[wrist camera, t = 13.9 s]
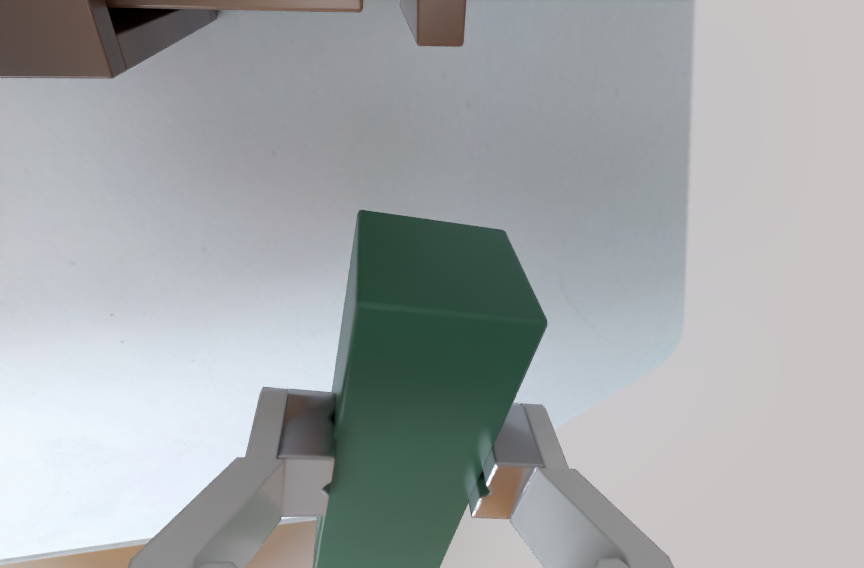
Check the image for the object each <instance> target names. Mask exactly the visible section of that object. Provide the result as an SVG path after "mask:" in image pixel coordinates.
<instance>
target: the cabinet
mask: <svg viewBox="0 0 864 568" xmlns="http://www.w3.org/2000/svg"><path fill="white" fill-rule="evenodd" d="M216 19H217V16H216V11H215V10H209V9H158V8H108V7H107V6H106V3H105V0H0V78H114V77H116V76H118V75H119V74H121V73H123V72H125V71H126V70H128V69H130V68H132V67H133V66H135V65H137V64H139V63H141V62H142V61H144V60H146V59H148V58H149V57H151V56H153V55H155V54H156V53H158V52H160V51H162V50H163V49H165V48H167V47H169V46H171V45H172V44H174V43H176V42H178V41H179V40H181V39H183V38H185V37H186V36H188V35H190V34H192V33H193V32H195V31H197V30H199V29H201V28H202V27H204V26H206V25H208V24H209V23H211V22H213V21H215V20H216Z"/></svg>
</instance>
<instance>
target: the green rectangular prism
mask: <svg viewBox="0 0 864 568" xmlns="http://www.w3.org/2000/svg"><path fill="white" fill-rule="evenodd" d="M546 327H547V319H546V317H545V315H544V313H543V311H542V309H541V306H540V304H539V302H538V300H537V298H536V296H535V294H534V292H533V290H532V287H531V285H530V283H529V281H528V279H527V277H526V275H525V273H524V270H523V268H522V266H521V264H520V262H519V260H518V258H517V256H516V253H515V251H514V249H513V247H512V245H511V243H510V241H509V239H508V237H507V234H506V232H505V231H503V230H500V229H492V228H485V227H478V226H471V225H464V224H457V223H450V222H443V221H436V220H429V219H422V218H415V217H408V216H401V215H394V214H387V213H380V212H373V211H366V210H360V211H359V212H358V214H357V220H356V227H355V234H354V241H353V248H352V255H351V262H350V269H349V276H348V283H347V290H346V297H345V303H344V310H343V317H342V324H341V331H340V338H339V345H338V352H337V359H336V366H335V373H334V380H333V387H332V392H333V393H336V411H335V417H334V425H335V427H334V437H335V439H336V449H335V461H334V468H333V474H332V481H331V482H330V489H329V499H328V505H327V510H326V516H317V522H316V535H315V547H314V559H313V568H440V565H441V563H442V561H443V559H444V556H445V554H446V552H447V550H448V547H449V545H450V543H451V541H452V538H453V536H454V534H455V532H456V529H457V527H458V525H459V523H460V520H461V518H462V516H463V514H464V511H465V509H466V507H467V505H468V502H469V501H468V499H469V497H470V494H471V492H472V490H473V487H474V485H475V483H476V481H477V480H478V479H479V478H480V475H481V473H482V471H483V469H482V467H483V465H484V462H485V460H486V458H487V456H488V453H489V451H490V449H491V447H492V446H494V444H495V442H496V439H497V437H498V435H499V433H500V430H501V428H502V426H503V424H504V421H505V419H506V417H507V415H508V412H509V410H510V408H511V406H512V403H513V401H514V399H515V397H516V394H517V392H518V390H519V388H520V386H521V383H522V381H523V379H524V377H525V374H526V372H527V370H528V368H529V365H530V363H531V361H532V359H533V356H534V354H535V352H536V350H537V347H538V345H539V343H540V341H541V338H542V336H543V334H544V332H545V329H546Z"/></svg>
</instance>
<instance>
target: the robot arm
mask: <svg viewBox="0 0 864 568" xmlns="http://www.w3.org/2000/svg"><path fill="white" fill-rule="evenodd" d="M335 411H336V393H333V392H321V391H310V390H298V389H283V388H271V387H263V388H262V390H261V392H260V395H259V400H258V404H257V408H256V413H255V417H254V421H253V426H252V430H251V434H250V439H249V443H248V447H247V451H246V456H245V457H237V458H236V459H235V460H234V461H233V462H232V463H231V464H230V465H229V466H228V467H226V468H225V469H224V470H223V471H222V472H221V473H220V474H219V475H218V476H217V477H216V478H215V479H214V480H213V481H212V482H211V483H210V484H209V485H208V486H207V487H206V488H205V489H204V490H203V491H201V492H200V493H199V494H198V495H197V496H196V497H195V498H194V499H193V500H192V501H191V502H190V503H189V504H188V505H187V506H186V507H185V508H184V509H183V510H182V511H181V512H180V513H179V514H178V515H176V516H175V517H174V518H173V519H172V520H171V521H170V522H169V523H168V524H167V525H166V526H165V527H164V528H163V529H162V530H161V531H160V532H159V533H158V534H157V535H156V536H155V537H154V538H153V539H152V540H150V541H149V542H148V543H147V544H146V545H145V546H144V547H143V548H142V549H141V550H140V551H139V552H138V553H137V554H136V555H135V556H134V557H133V558H132V559H131V560H130V563H129V566H128V568H246V567H247V565H248V564H249V563H250V561H251V560H252V558H253V557H254V556H255V554H256V553H257V551H258V550H259V549H260V548H261V546H262V545H263V544H264V542H265V541H266V539H267V538H268V537H269V535H270V534H271V533H272V531H273V530H274V529H275V527H276V526H277V525H278V523H279V522H280V520H281V517H301V516H326V510H327V505H328V499H329V489H330V482H331V481H332V474H333V468H334V461H335V449H336V439H335V437H334V427H335V425H334V417H335ZM482 469H483V471H482V473H481V475H480V478H479V479H478V480H477V481H476V483H475V485H474V487H473V490H472V492H471V494H470V497H469V499H468V501H469V506H470V511H471V516H472V518H493V519H510V523H511V524H512V525H513V527H514V528H515V530H516V531H517V532H518V534H519V535H520V536H521V537H522V539H523V540H524V542H525V543H526V544H527V546H528V547H529V548H530V550H531V551H532V553H533V554H534V555H535V556H536V558H537V559H538V561H539V562H540V563H541V565H542V566H543V567H544V568H674V566H673V564H672V562H671V560H670V558H669V556H667V555H666V554H665V553H664V552H663V551H662V550H661V549H660V548H659V547H658V546H657V545H656V544H655V543H654V542H653V541H652V540H651V539H649V538H648V537H647V536H646V535H645V534H644V533H643V532H642V531H641V530H640V529H639V528H637V526H635V524H633V523H632V522H631V521H630V520H629V519H628V518H627V517H626V516H625V515H624V514H623V513H622V512H621V511H619V510H618V509H617V508H616V507H615V506H614V505H613V504H612V503H611V502H610V501H609V500H608V499H607V498H606V497H605V496H604V495H603V494H601V493H600V492H599V491H598V490H597V489H596V488H595V487H594V486H593V485H592V484H591V483H590V482H589V481H588V480H586V479H585V478H584V477H583V476H582V475H581V474H580V473H579V472H578V471H577V470H576V469H569V468H568V465H567V462H566V460H565V457H564V454H563V452H562V449H561V447H560V445H559V442H558V439H557V436H556V434H555V431H554V429H553V426H552V424H551V421H550V419H549V416H548V413H547V411H546V408H545V407H544V406H543V405H537V404H518V403H512V406H511V408H510V410H509V412H508V415H507V417H506V419H505V421H504V424H503V426H502V428H501V430H500V433H499V435H498V437H497V439H496V442H495V444H494V446H492V447H491V449H490V451H489V453H488V456H487V458H486V460H485V462H484V465H483V467H482Z"/></svg>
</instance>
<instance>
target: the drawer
mask: <svg viewBox="0 0 864 568" xmlns="http://www.w3.org/2000/svg"><path fill="white" fill-rule="evenodd" d="M105 3H106V6H107V7H108V8H158V9H209V10H259V11H310V12H361V11H362V10H363V0H105ZM400 8H401V10H402V12H403V14H404V17H405V19H406V21H407V23H408V25H409V28H410V30H411V32H412V34H413V36H414V39H415V41H416V43H417V45H418V46H445V47H460V46H463V43H464V29H465V12H466V0H400Z"/></svg>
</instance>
